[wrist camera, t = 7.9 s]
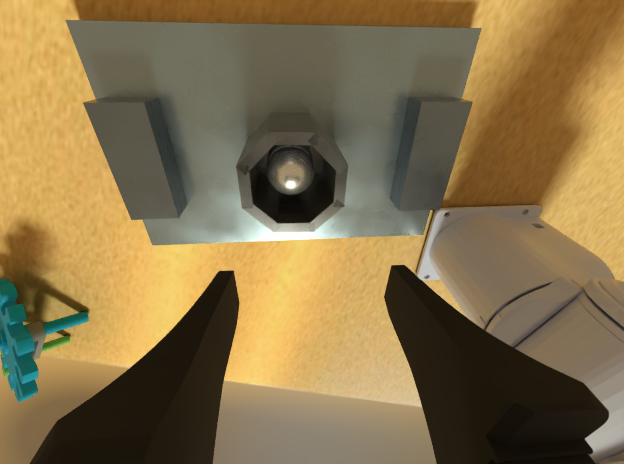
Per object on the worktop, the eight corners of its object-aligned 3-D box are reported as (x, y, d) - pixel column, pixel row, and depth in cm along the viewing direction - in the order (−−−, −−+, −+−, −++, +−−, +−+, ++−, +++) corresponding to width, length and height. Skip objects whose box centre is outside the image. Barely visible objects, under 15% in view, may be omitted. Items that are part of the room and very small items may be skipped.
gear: (-22, 257, 20) (14, 383, 18) (79, 245, 25) (119, 342, 22) (-22, 322, 26) (6, 425, 23) (60, 302, 31) (91, 385, 28)
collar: (335, 112, 17) (352, 131, 13) (330, 194, 20) (342, 231, 16) (244, 111, 17) (231, 131, 13) (253, 195, 20) (244, 233, 16)
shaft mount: (469, 29, 16) (543, 20, 12) (417, 227, 24) (449, 269, 19) (80, 22, 15) (-15, 8, 10) (158, 236, 22) (125, 285, 18)
